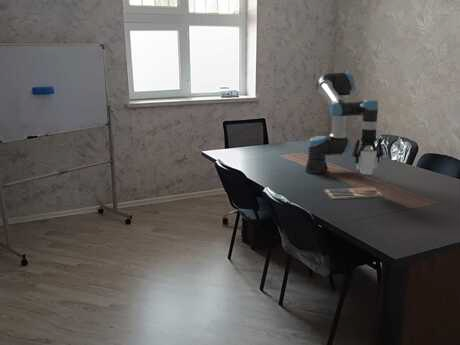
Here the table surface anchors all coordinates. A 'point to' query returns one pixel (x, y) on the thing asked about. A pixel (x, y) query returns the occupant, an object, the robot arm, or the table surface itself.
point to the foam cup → (367, 161)
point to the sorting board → (353, 193)
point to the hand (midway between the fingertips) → (366, 168)
